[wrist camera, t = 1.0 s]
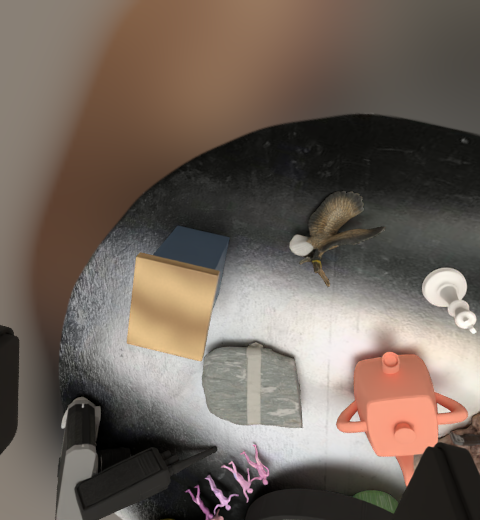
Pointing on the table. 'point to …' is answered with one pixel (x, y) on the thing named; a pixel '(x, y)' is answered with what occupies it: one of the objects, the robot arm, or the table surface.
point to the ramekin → (378, 499)
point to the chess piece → (449, 295)
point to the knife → (465, 439)
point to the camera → (81, 455)
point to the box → (196, 249)
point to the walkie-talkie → (129, 482)
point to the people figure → (239, 478)
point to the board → (171, 306)
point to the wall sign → (313, 507)
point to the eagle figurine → (331, 229)
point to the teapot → (398, 408)
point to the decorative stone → (252, 386)
